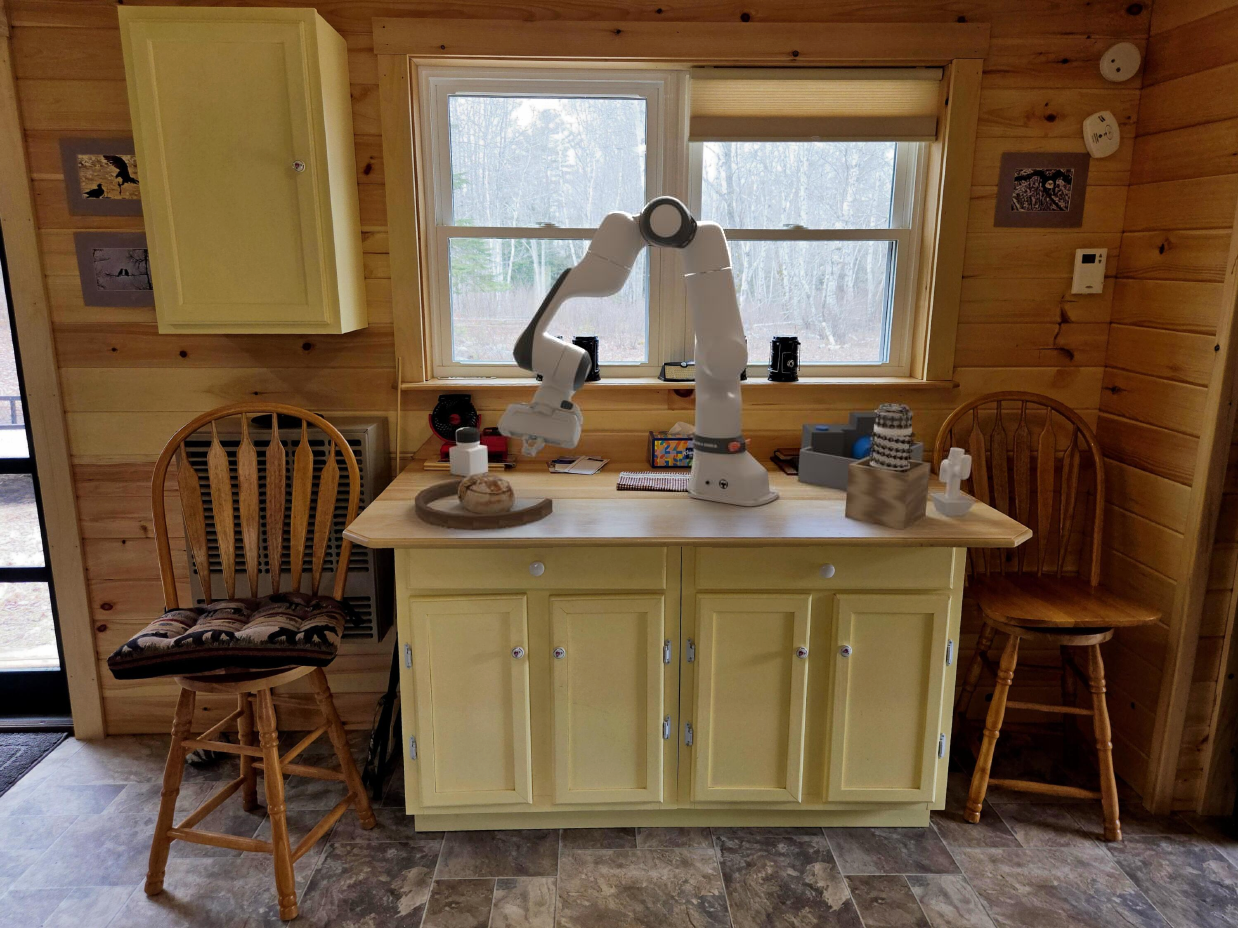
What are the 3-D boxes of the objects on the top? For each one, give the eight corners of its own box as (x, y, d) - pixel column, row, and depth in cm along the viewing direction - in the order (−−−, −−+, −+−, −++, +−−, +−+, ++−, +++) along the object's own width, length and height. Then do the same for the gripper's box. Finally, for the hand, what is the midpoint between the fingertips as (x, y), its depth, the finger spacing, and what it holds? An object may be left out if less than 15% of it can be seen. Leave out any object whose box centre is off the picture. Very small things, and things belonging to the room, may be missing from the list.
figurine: (954, 506, 190) (961, 443, 186) (976, 518, 181) (984, 452, 177) (924, 507, 189) (931, 443, 185) (945, 520, 180) (953, 453, 176)
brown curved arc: (558, 513, 183) (558, 500, 183) (475, 540, 166) (475, 526, 165) (469, 488, 203) (469, 476, 202) (387, 509, 186) (386, 496, 185)
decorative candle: (902, 525, 176) (913, 410, 170) (859, 518, 181) (868, 406, 175) (910, 513, 184) (921, 404, 178) (868, 507, 189) (877, 400, 182)
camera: (813, 483, 210) (817, 423, 206) (800, 468, 225) (803, 411, 221) (911, 484, 210) (916, 423, 206) (891, 468, 225) (895, 411, 221)
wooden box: (925, 515, 183) (930, 463, 180) (901, 529, 174) (907, 474, 171) (870, 503, 191) (874, 453, 188) (844, 516, 182) (848, 464, 179)
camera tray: (922, 472, 219) (925, 443, 217) (874, 496, 197) (876, 464, 195) (848, 459, 233) (851, 431, 231) (796, 480, 211) (798, 450, 209)
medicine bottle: (488, 471, 218) (487, 427, 215) (470, 477, 212) (468, 432, 209) (468, 468, 222) (466, 424, 219) (449, 473, 216) (447, 429, 213)
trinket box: (476, 497, 196) (475, 465, 194) (530, 505, 190) (529, 472, 188) (441, 512, 184) (440, 478, 182) (497, 522, 178) (496, 487, 176)
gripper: (507, 393, 200) (484, 439, 194) (583, 406, 193) (562, 455, 187) (514, 408, 205) (492, 453, 199) (589, 422, 199) (569, 469, 192)
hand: (527, 454), depth 193 cm, fingers closed
